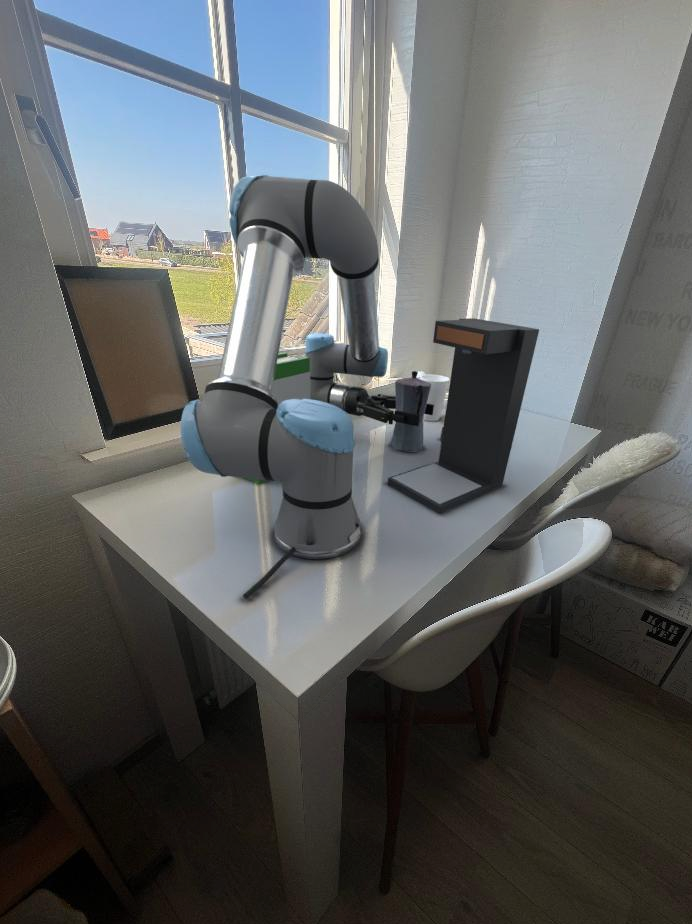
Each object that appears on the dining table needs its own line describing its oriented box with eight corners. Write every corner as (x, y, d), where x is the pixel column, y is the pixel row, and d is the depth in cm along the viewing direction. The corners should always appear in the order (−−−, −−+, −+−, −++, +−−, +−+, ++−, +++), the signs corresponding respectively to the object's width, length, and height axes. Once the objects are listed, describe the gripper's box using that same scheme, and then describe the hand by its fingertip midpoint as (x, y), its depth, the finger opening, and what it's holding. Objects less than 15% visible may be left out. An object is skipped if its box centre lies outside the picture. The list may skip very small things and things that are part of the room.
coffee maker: (439, 513, 85) (468, 334, 68) (387, 483, 95) (400, 320, 78) (502, 485, 98) (539, 329, 81) (450, 462, 108) (473, 318, 91)
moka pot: (415, 437, 122) (424, 366, 112) (433, 458, 109) (445, 380, 99) (384, 437, 120) (390, 365, 110) (398, 459, 107) (407, 379, 97)
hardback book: (289, 451, 107) (284, 352, 95) (311, 458, 104) (309, 357, 92) (235, 474, 94) (221, 363, 82) (258, 483, 91) (248, 369, 79)
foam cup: (411, 413, 141) (415, 374, 134) (436, 413, 144) (441, 374, 137) (422, 423, 133) (426, 381, 127) (448, 422, 136) (454, 381, 129)
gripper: (367, 403, 126) (438, 417, 119) (328, 424, 108) (408, 442, 101) (369, 378, 122) (441, 391, 115) (328, 395, 104) (411, 411, 97)
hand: (426, 415), depth 108 cm, fingers closed on moka pot, 10 cm apart
